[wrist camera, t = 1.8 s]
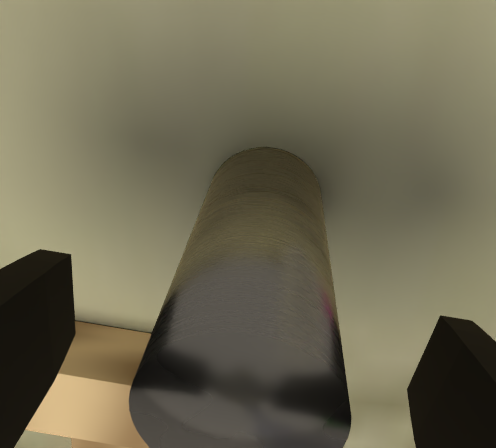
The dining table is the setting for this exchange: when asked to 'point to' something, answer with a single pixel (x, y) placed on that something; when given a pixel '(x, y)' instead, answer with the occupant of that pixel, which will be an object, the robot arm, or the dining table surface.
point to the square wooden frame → (94, 389)
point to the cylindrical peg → (249, 321)
